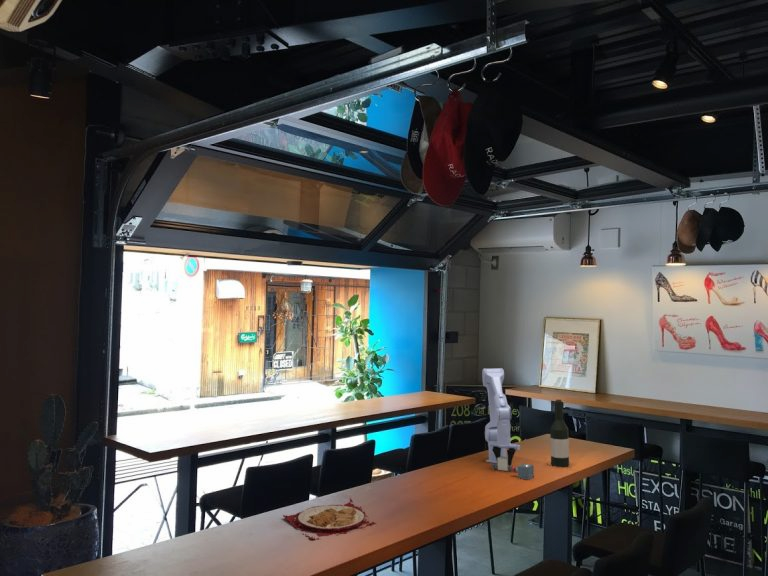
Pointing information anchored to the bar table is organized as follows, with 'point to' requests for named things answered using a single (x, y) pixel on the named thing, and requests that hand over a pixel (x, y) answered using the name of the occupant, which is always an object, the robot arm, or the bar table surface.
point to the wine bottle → (559, 438)
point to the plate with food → (329, 519)
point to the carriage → (503, 463)
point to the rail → (497, 467)
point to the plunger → (514, 469)
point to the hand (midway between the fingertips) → (504, 464)
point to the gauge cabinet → (525, 471)
